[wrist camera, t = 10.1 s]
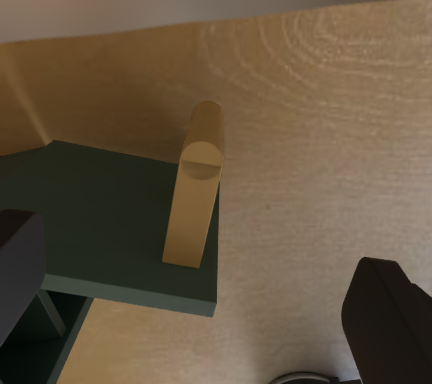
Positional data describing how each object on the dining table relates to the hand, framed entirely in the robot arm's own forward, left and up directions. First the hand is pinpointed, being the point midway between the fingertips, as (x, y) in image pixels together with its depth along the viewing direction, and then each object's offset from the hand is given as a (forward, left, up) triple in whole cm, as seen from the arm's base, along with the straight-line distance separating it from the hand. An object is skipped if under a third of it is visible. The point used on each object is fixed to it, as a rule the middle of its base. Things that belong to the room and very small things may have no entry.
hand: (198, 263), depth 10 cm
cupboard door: (+6, +1, -22) cm, 22 cm away
